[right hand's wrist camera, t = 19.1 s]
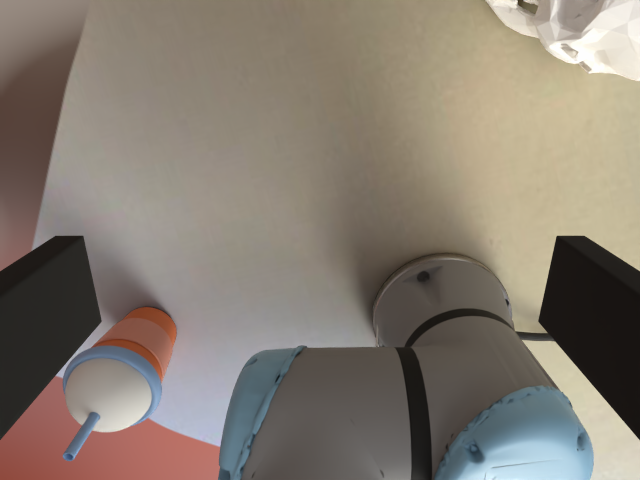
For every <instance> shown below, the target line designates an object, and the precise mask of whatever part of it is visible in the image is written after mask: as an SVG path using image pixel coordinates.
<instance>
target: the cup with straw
mask: <svg viewBox="0 0 640 480" xmlns="http://www.w3.org/2000/svg"><path fill="white" fill-rule="evenodd" d="M175 339H176V327H175V324H174V322H173V320H172V319H171V318H170V317H169V316H168V315H167V314H166V313H164V312H163V311H161V310H159V309H156V308H151V307H142V308H138V309H135V310H133V311H131V312H130V313H129V314H128V315H127V316H126V317H125V318H124V319H123V320H122V321H120V322H118V323H117V324H115V325H114V326H113V327H112V328H111V329H110V330H109V331H108V332H107V333H106V334H105V335H104V336H103V337H102V338H101V339H100V340H99V341H97V342H96V343H95V344H94V345H93V346H92V347H91V348H90V349H87V350H85V351H83V352H81V353H80V354H78V355H77V356H76V357H75V358H74V359H73V360H72V361H71V362H70V363H69V365H68V367H67V368H66V371H65V373H64V377H63V390H64V394H65V399H66V404H67V407H68V410H69V412H70V413H71V415H72V416H73V418H74V419H75V420H76V421H77V422H78V423H79V424H81V425H82V427H81V428H80V430H79V431H78V433H77V434H76V436H75V437H74V439H73V440H72V442H71V443H70V445H69V447H68V448H67V450H66V451H65V452H64V454H63V458H64V459H65V460H67V461H72V460H73V459H74V458H75V456H76V455H77V453H78V452H79V450H80V448H81V447H82V445H83V444H84V442H85V440H86V439H87V437H88V436H89V434H90V432H91V431H92V430H94V431H98V432H114V431H119V430H122V429H125V428H127V427H129V426H133V425H136V424H138V423H140V422H142V421H144V420H145V419H147V418H148V417H149V416H150V415H151V414H152V413H153V412H154V411H155V409H156V408H157V406H158V404H159V402H160V399H161V393H162V386H161V383H162V381H163V378H164V375H165V372H166V370H167V367H168V364H169V361H170V358H171V355H172V348H173V345H174V342H175Z"/></svg>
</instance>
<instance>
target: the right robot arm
mask: <svg viewBox="0 0 640 480" xmlns="http://www.w3.org/2000/svg"><path fill="white" fill-rule="evenodd" d="M372 321H373V328H374V332H375V337H376V347H346V348H307V346H298V347H297V348H290V349H276V350H265V351H261V352H259V353H257V354H255V355H254V356H252V357H251V358H250V359H249V360H248V361H247V363H246V364H245V366H244V367H243V369H242V371H241V373H240V375H239V377H238V379H237V382H236V384H235V387H234V390H233V393H232V396H231V400H230V403H229V407H228V411H227V415H226V420H225V424H224V429H223V435H222V441H221V447H220V455H219V466H220V471H219V477H218V480H590V478H591V475H592V471H593V464H594V455H593V448H592V444H591V441H590V438H589V436H588V434H587V432H586V430H585V428H584V427H583V425H582V424H581V422H580V420H579V419H578V417H577V415H576V414H575V412H574V410H573V409H572V405H571V403H570V401H569V399H568V398H567V397H566V396H565V395H564V394H563V392H561V391H560V390H559V388H558V387H557V386H556V384H555V383H554V382H553V381H552V379H551V378H550V377H549V375H548V374H547V373H546V371H545V370H544V369H543V367H542V366H541V365H540V364H539V362H538V361H537V360H536V358H535V357H534V356H533V354H532V353H531V352H530V350H529V349H528V348H527V346H526V345H525V344H524V343H523V341H522V340H532V341H556V343H557V344H558V345H559V346H560V347H561V348H562V350H563V351H564V352H565V353H566V354H567V356H568V357H569V358H570V359H571V360H572V361H573V363H574V364H575V365H576V366H577V367H578V368H579V370H580V371H581V372H582V373H583V374H584V375H585V377H586V378H587V379H588V380H589V381H590V382H591V384H592V385H593V386H594V387H595V388H596V389H597V391H598V392H599V393H600V394H601V395H602V396H603V398H604V399H605V400H606V401H607V402H608V403H609V405H610V406H611V407H612V408H613V409H614V410H615V412H616V413H617V414H618V415H619V416H620V417H621V419H622V420H623V421H624V422H625V423H626V424H627V426H628V427H629V428H630V429H631V430H632V432H633V433H634V434H635V435H636V436H637V437H638V439H639V440H640V271H638V270H637V269H635V268H634V267H632V266H631V265H629V264H627V263H626V262H624V261H623V260H621V259H620V258H618V257H617V256H615V255H613V254H612V253H610V252H609V251H607V250H606V249H604V248H603V247H601V246H599V245H598V244H596V243H595V242H593V241H592V240H590V239H589V238H587V237H585V236H557V237H556V242H555V246H554V251H553V256H552V260H551V265H550V270H549V274H548V279H547V284H546V288H545V293H544V297H543V302H542V307H541V311H540V316H539V321H538V322H539V323H540V324H541V325H542V326H543V327H544V329H545V330H546V331H547V332H548V333H527V332H516V331H515V329H514V323H513V320H512V310H511V304H510V301H509V298H508V295H507V293H506V290H505V288H504V287H503V285H502V284H501V282H500V281H499V280H498V278H497V277H496V276H495V275H494V274H493V273H492V272H491V271H490V270H489V269H488V268H487V267H486V266H484V265H483V264H481V263H480V262H478V261H476V260H474V259H472V258H469V257H466V256H462V255H457V254H434V255H428V256H425V257H421V258H418V259H416V260H413V261H411V262H409V263H407V264H405V265H404V266H402V267H401V268H399V269H398V270H397V271H395V272H394V273H393V274H392V275H391V276H390V277H389V278H388V279H387V280H386V282H385V283H384V284H383V286H382V287H381V289H380V290H379V292H378V294H377V297H376V299H375V302H374V306H373V313H372ZM101 322H102V321H101V316H100V311H99V307H98V302H97V297H96V293H95V288H94V284H93V279H92V274H91V270H90V265H89V260H88V256H87V251H86V246H85V242H84V237H83V236H55V237H53V238H51V239H50V240H48V241H47V242H45V243H44V244H42V245H41V246H39V247H37V248H36V249H34V250H33V251H31V252H30V253H28V254H27V255H25V256H24V257H22V258H20V259H19V260H17V261H16V262H14V263H13V264H11V265H9V266H8V267H6V268H5V269H3V270H2V271H0V440H1V438H2V437H3V436H4V435H5V434H6V433H7V431H8V430H9V429H10V428H11V427H12V426H13V424H14V423H15V422H16V421H17V420H18V419H19V417H20V416H21V415H22V414H23V413H24V412H25V410H26V409H27V408H28V407H29V406H30V405H31V403H32V402H33V401H34V400H35V399H36V398H37V396H38V395H39V394H40V393H41V392H42V391H43V389H44V388H45V387H46V386H47V385H48V384H49V382H50V381H51V380H52V379H53V378H54V377H55V375H56V374H57V373H58V372H59V371H60V370H61V368H62V367H63V366H64V365H65V364H66V363H67V361H68V360H69V359H70V358H71V357H72V356H73V354H74V353H75V352H76V351H77V350H78V348H79V347H80V346H81V345H82V344H83V343H84V341H85V340H86V339H87V338H88V337H89V336H90V334H91V333H92V332H93V331H94V330H95V329H96V327H97V326H98V325H99V324H100V323H101ZM378 345H379V346H380V347H378Z"/></svg>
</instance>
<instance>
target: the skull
mask: <svg viewBox="0 0 640 480" xmlns="http://www.w3.org/2000/svg"><path fill="white" fill-rule="evenodd" d="M486 2H487V3H488V4H489V6H490V7H491V8H492V10H493V11H494V12H495V14H496V15H497V16H498V17H499V18H500V20H501V21H502V22H503V23H504V24H505V25H506V26H507V27H509V28H511V29H512V30H514V31H516V32H518V33H520V34H523V35H527V36H531V37H535V38H538V39H540V42H541V43H542V45H543V46H544V48H545V49H546V50H547V51H548V52H549V53H551V54H552V55H553V56H555V57H557V58H559V59H561V60H563V61H565V62H568V63H573V64H577V63H578V64H579V65H580V66H581V67H582V68H583V69H584V70H585V71H586V72H587V73H612V74H619V75H621V76H623V77H626V78H628V79H632V80H636V81H640V0H524V2H527V3H530V4H533V3H534V4H536V5H537V6H538V9H537V12H536V14H534V13H532V12H530V11H528V10H526V9H524V8H522V7H520V6H519V5H518V0H486Z"/></svg>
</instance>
